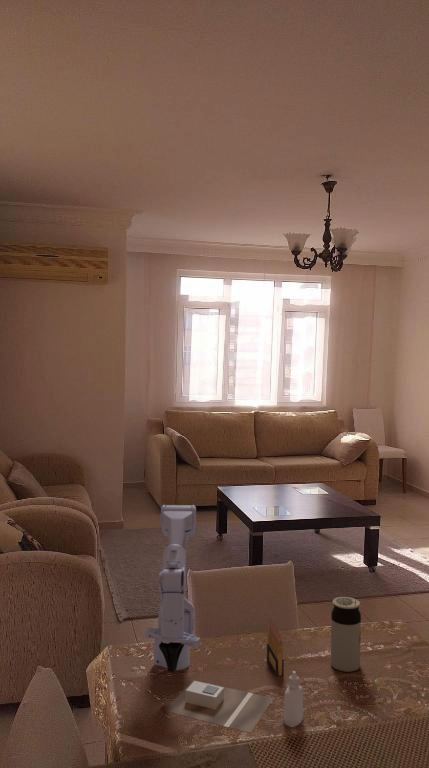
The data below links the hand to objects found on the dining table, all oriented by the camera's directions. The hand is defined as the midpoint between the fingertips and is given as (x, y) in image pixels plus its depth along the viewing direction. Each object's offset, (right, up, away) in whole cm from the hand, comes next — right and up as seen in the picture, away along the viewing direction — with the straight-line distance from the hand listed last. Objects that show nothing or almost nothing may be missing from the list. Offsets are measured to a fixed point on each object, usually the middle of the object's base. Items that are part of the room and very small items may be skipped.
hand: (172, 669), depth 165 cm
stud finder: (+8, -6, -3) cm, 11 cm away
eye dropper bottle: (+29, -8, -10) cm, 32 cm away
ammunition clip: (+27, -6, +15) cm, 31 cm away
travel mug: (+47, -6, +17) cm, 50 cm away
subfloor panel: (+11, -7, -4) cm, 14 cm away
